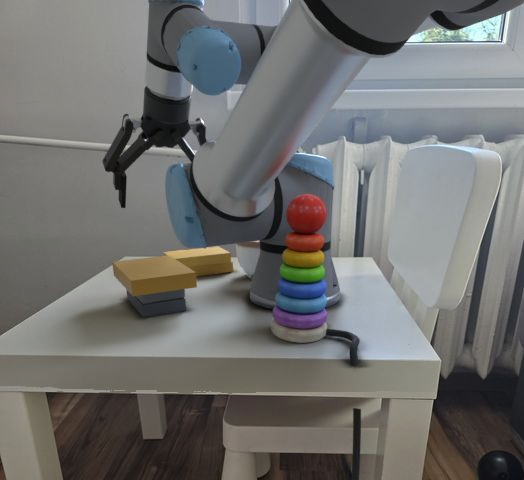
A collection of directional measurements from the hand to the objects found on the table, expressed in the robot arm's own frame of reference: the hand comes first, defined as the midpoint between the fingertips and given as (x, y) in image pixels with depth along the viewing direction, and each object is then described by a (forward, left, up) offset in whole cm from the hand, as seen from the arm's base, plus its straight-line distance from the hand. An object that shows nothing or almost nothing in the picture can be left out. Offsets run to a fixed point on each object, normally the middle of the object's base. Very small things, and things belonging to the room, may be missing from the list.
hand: (158, 203), depth 96 cm
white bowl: (-11, -17, -14) cm, 25 cm away
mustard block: (-19, +7, -10) cm, 22 cm away
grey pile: (-19, +7, -14) cm, 24 cm away
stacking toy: (-42, -7, -14) cm, 45 cm away
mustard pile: (-1, -7, -14) cm, 16 cm away
